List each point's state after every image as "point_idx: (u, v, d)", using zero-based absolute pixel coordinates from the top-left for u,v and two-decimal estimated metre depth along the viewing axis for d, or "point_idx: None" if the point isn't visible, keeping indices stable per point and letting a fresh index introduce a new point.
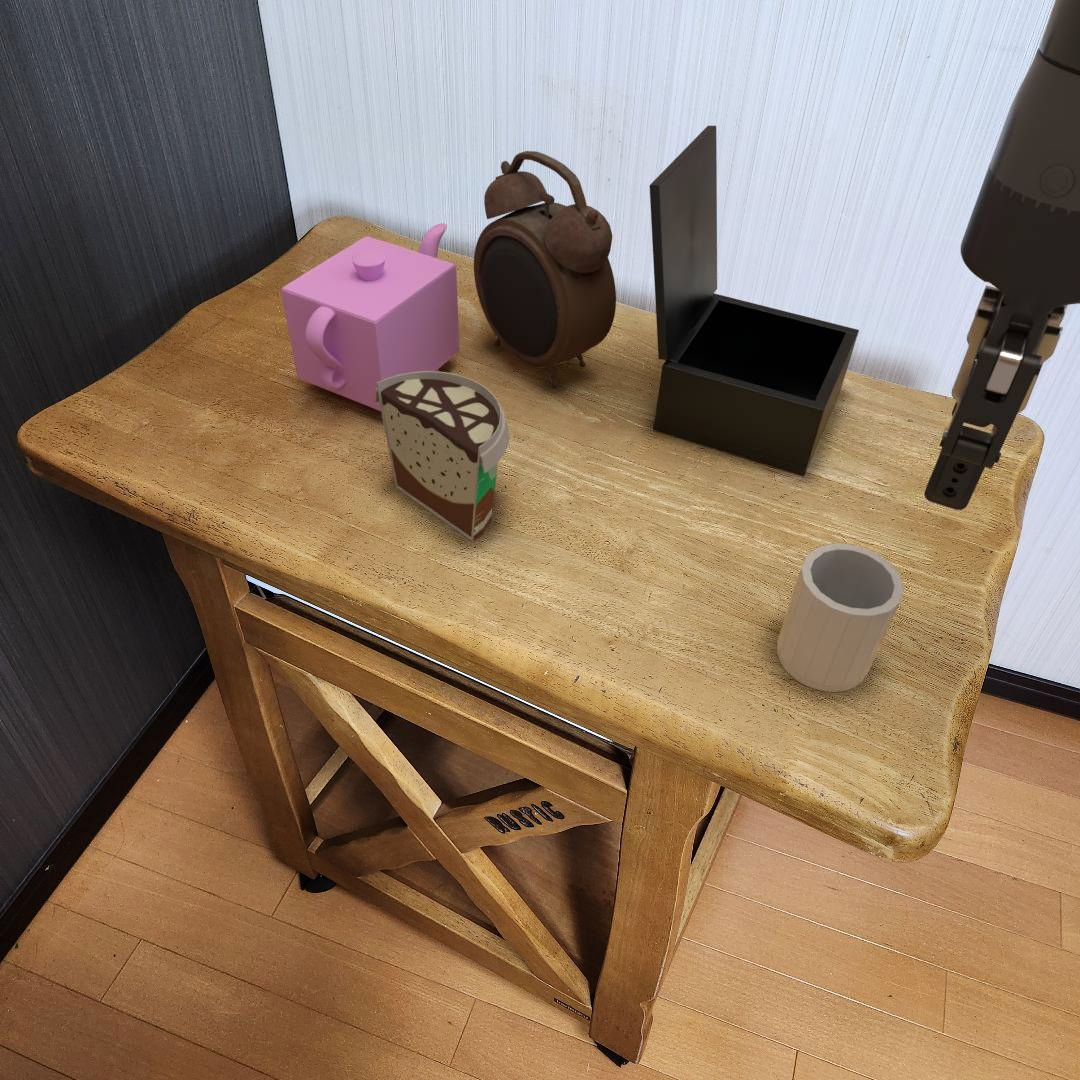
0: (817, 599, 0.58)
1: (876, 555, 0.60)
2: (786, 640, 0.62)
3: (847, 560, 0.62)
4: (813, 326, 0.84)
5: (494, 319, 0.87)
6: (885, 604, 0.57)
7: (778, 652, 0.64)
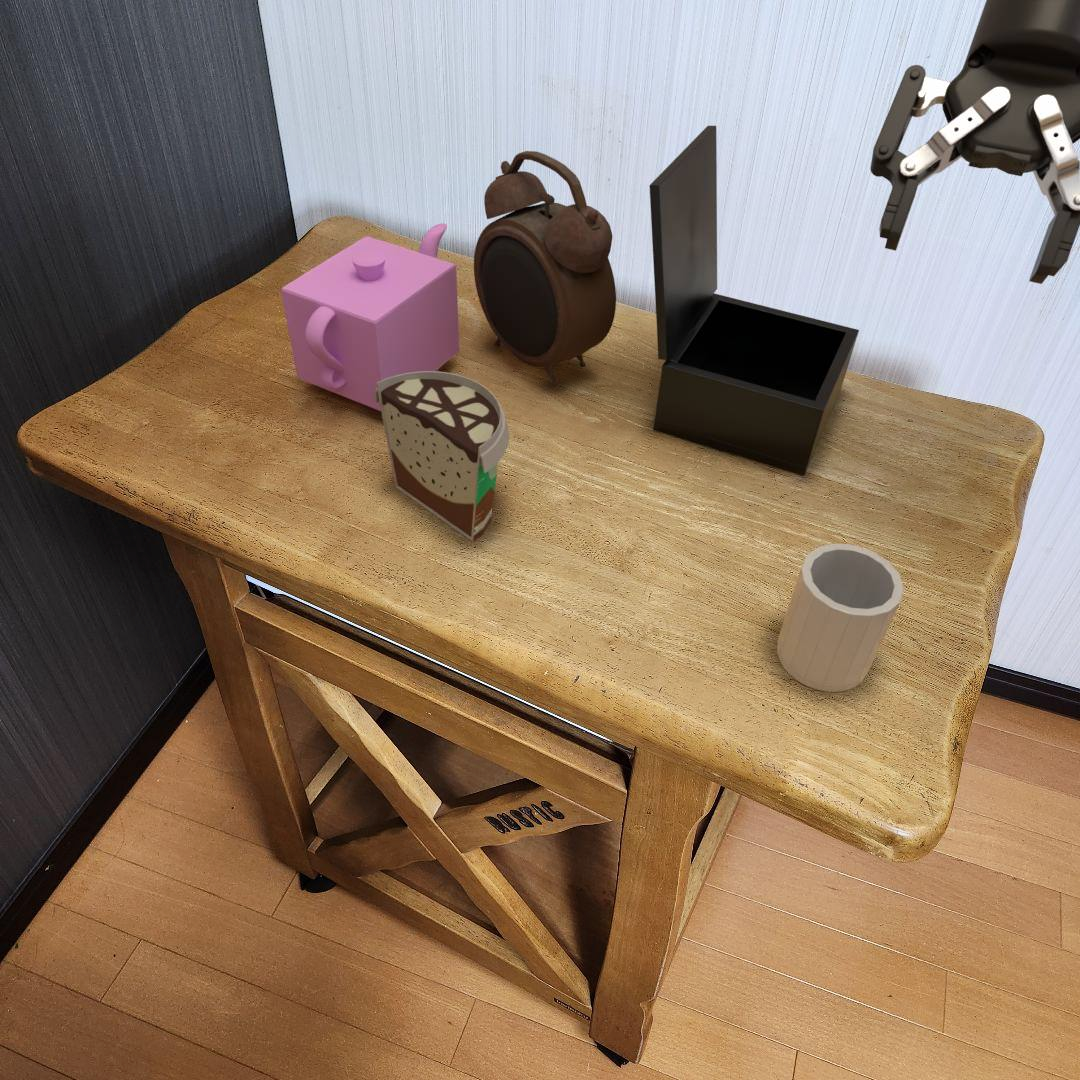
0: (817, 599, 0.58)
1: (876, 555, 0.60)
2: (786, 640, 0.62)
3: (847, 560, 0.62)
4: (813, 326, 0.84)
5: (494, 319, 0.87)
6: (885, 604, 0.57)
7: (778, 652, 0.64)
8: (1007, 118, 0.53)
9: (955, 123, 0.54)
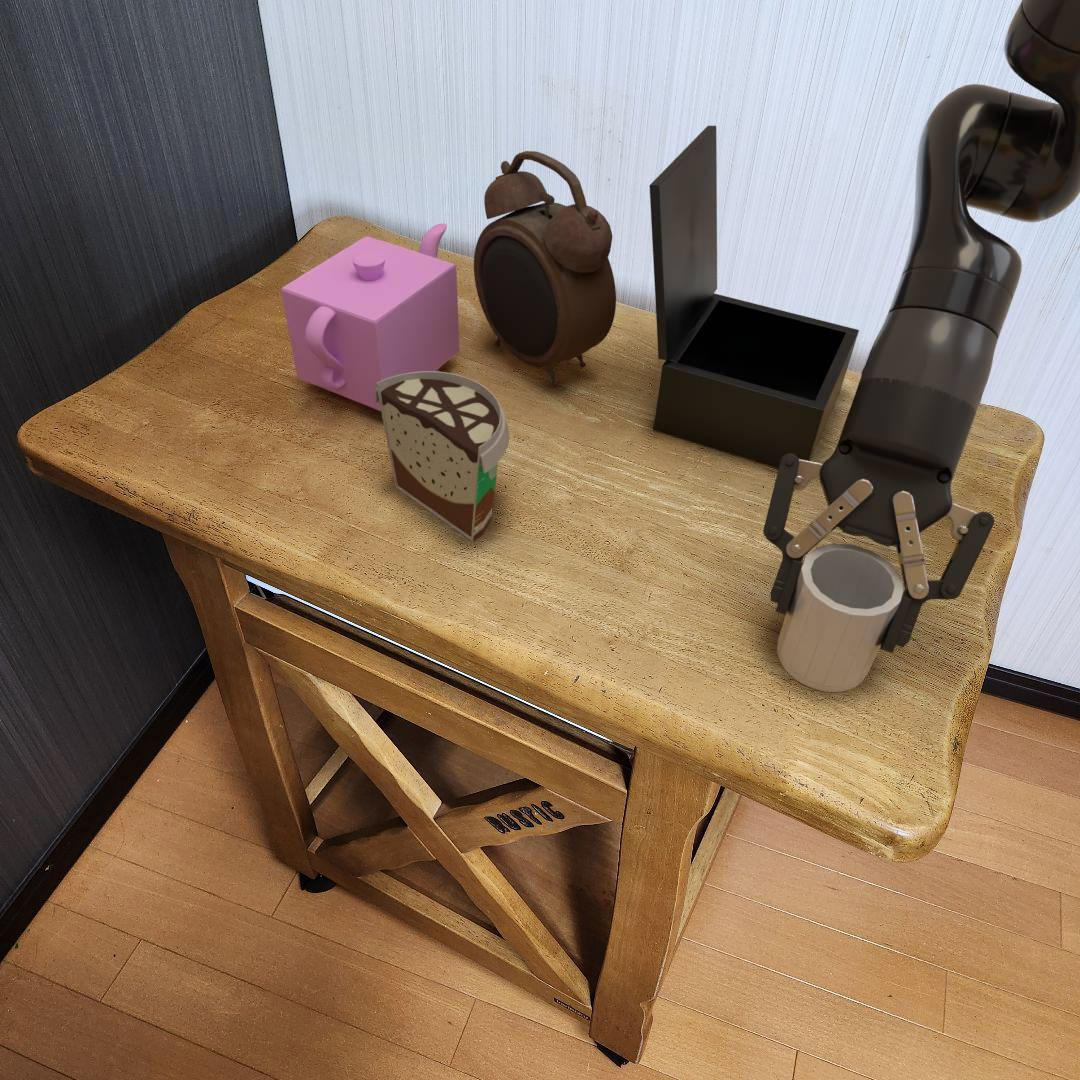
0: (817, 599, 0.58)
1: (876, 555, 0.60)
2: (786, 640, 0.62)
3: (847, 560, 0.62)
4: (813, 326, 0.84)
5: (494, 319, 0.87)
6: (885, 604, 0.57)
7: (778, 652, 0.64)
8: (872, 503, 0.59)
9: (828, 511, 0.59)
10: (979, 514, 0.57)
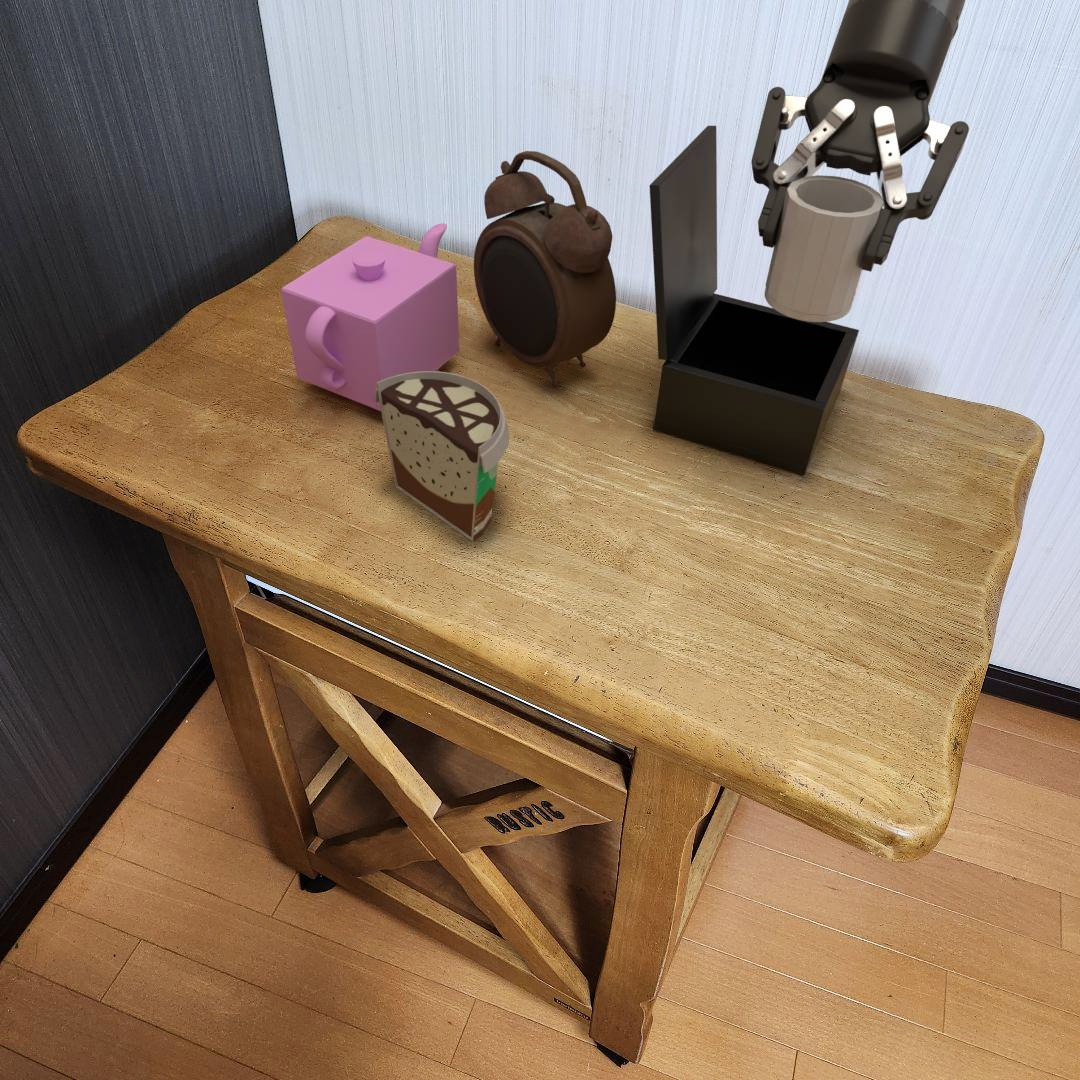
0: (801, 207, 0.61)
1: (858, 182, 0.64)
2: (773, 273, 0.66)
3: (830, 193, 0.65)
4: (813, 326, 0.84)
5: (494, 319, 0.87)
6: (866, 210, 0.61)
7: (766, 294, 0.68)
8: (854, 125, 0.62)
9: (813, 134, 0.63)
10: (954, 124, 0.61)
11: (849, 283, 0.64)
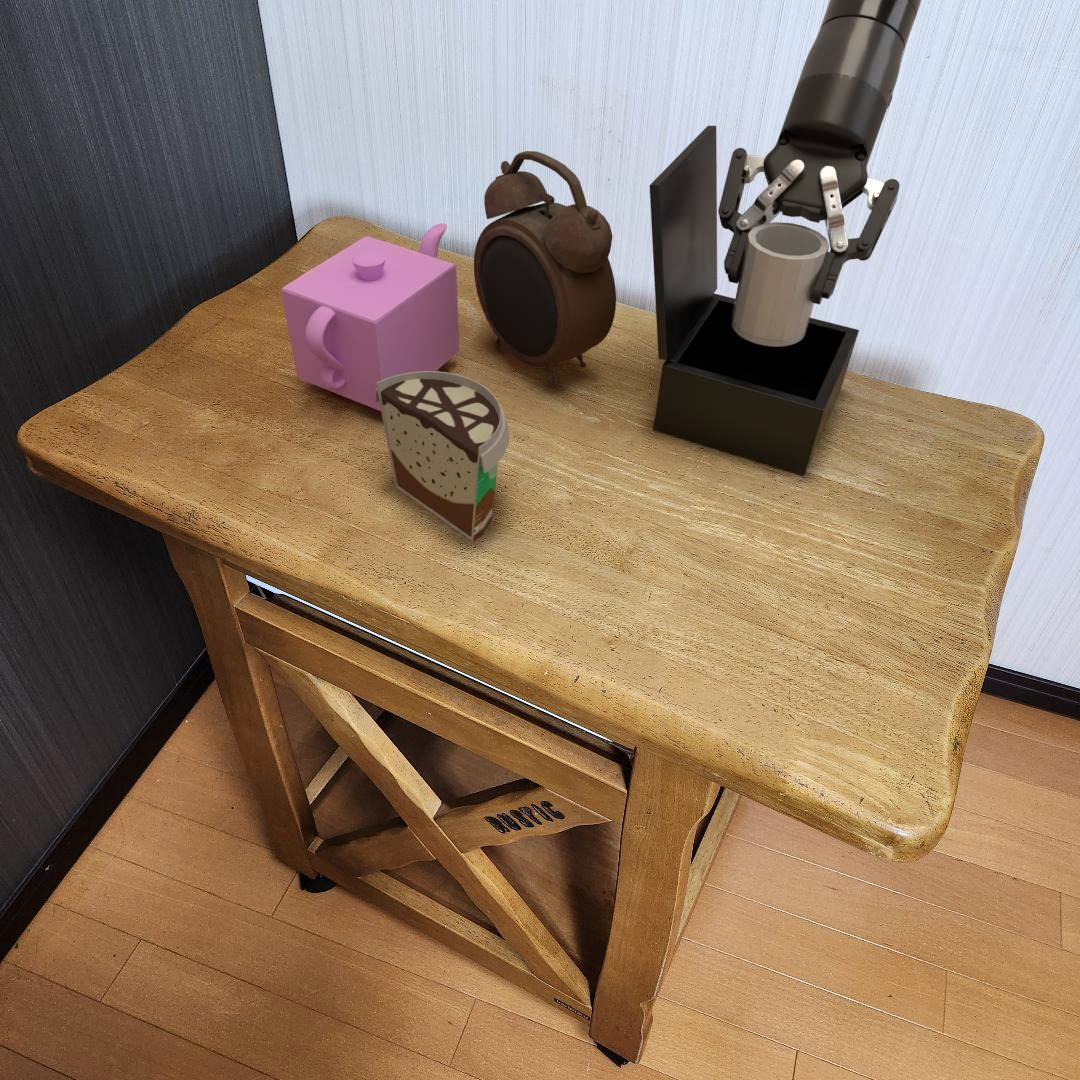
0: (759, 251, 0.72)
1: (808, 228, 0.75)
2: (738, 305, 0.77)
3: (786, 237, 0.76)
4: (813, 326, 0.84)
5: (494, 319, 0.87)
6: (813, 253, 0.72)
7: (732, 323, 0.79)
8: (804, 181, 0.74)
9: (769, 189, 0.74)
10: (888, 181, 0.72)
11: (801, 314, 0.75)
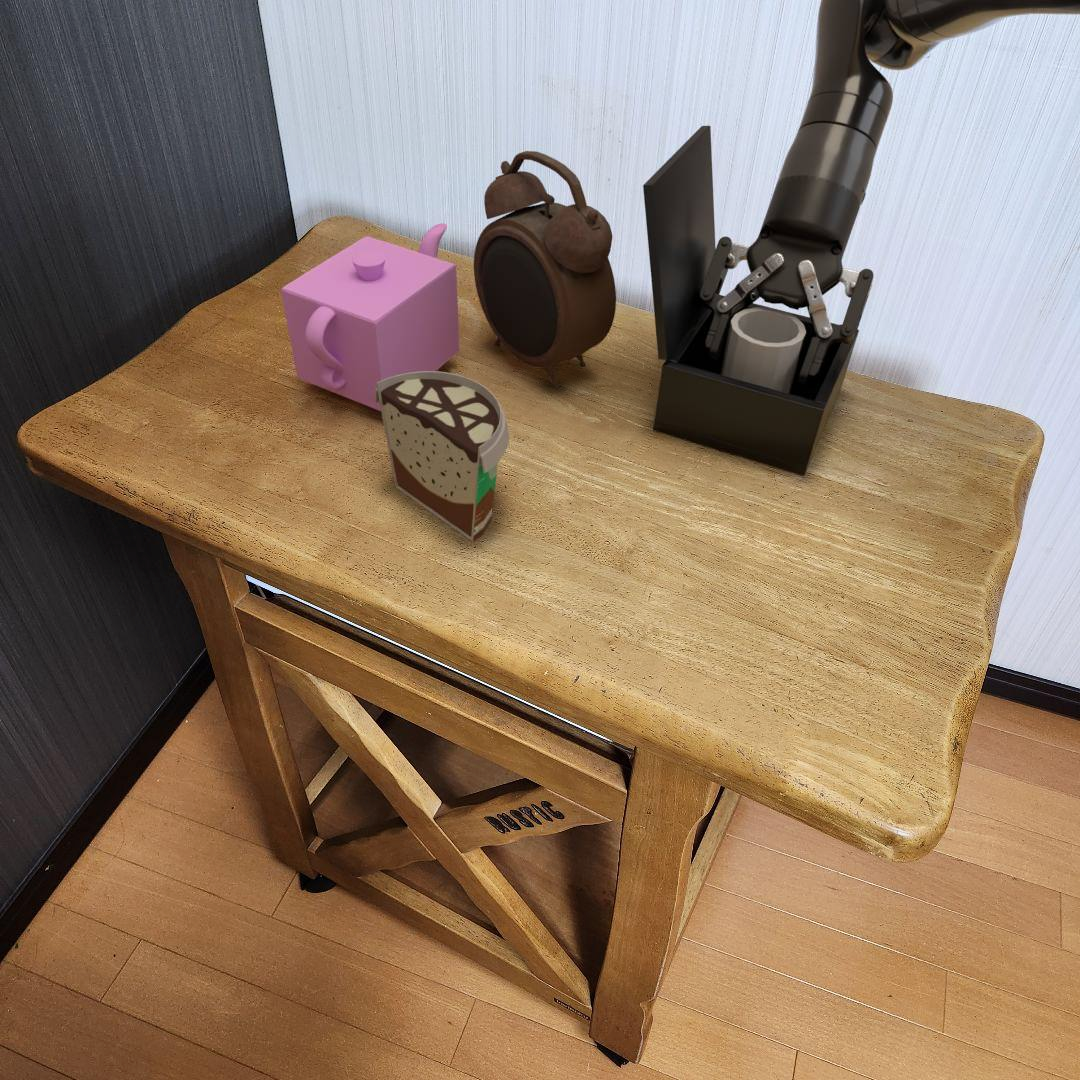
0: (741, 337, 0.78)
1: (787, 314, 0.81)
2: None
3: (767, 321, 0.82)
4: None
5: (494, 319, 0.87)
6: (791, 340, 0.78)
7: None
8: (784, 273, 0.79)
9: (750, 277, 0.80)
10: (862, 271, 0.77)
11: None
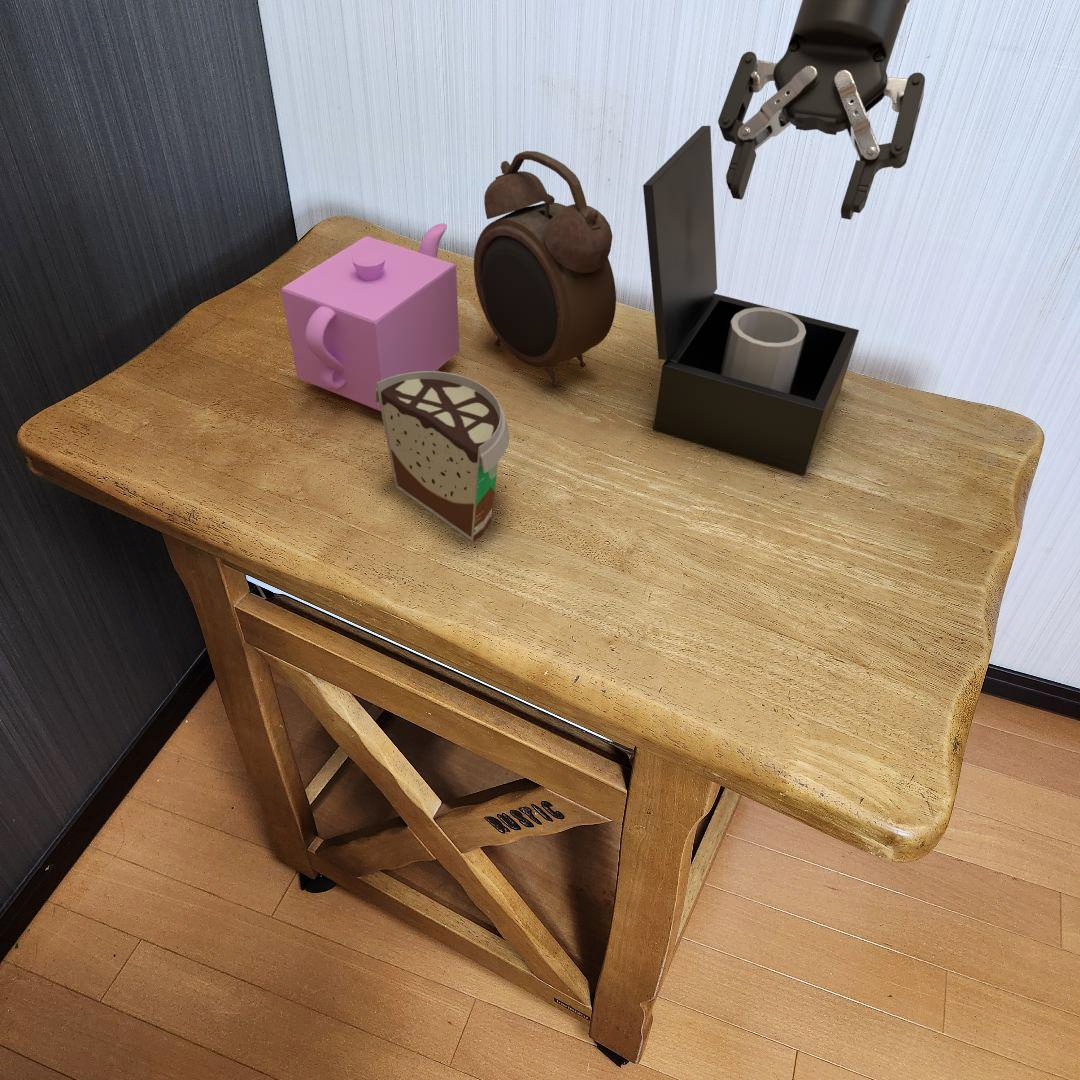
0: (741, 337, 0.78)
1: (787, 314, 0.81)
2: None
3: (767, 321, 0.82)
4: (813, 326, 0.84)
5: (494, 319, 0.87)
6: (791, 340, 0.78)
7: None
8: (818, 90, 0.68)
9: (777, 96, 0.68)
10: (911, 76, 0.66)
11: None
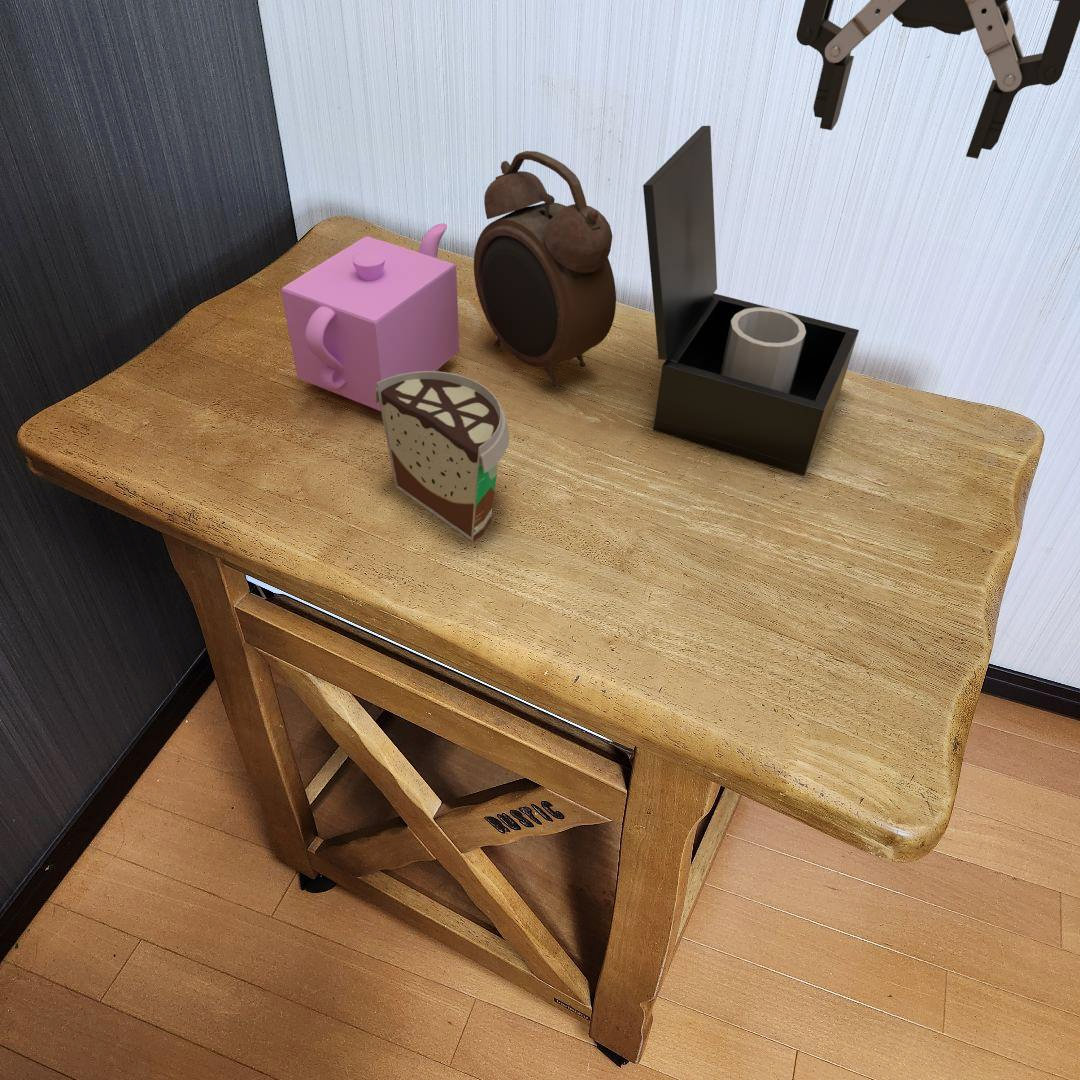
0: (741, 337, 0.78)
1: (787, 314, 0.81)
2: None
3: (767, 321, 0.82)
4: (813, 326, 0.84)
5: (494, 319, 0.87)
6: (791, 340, 0.78)
7: None
8: None
9: (876, 4, 0.49)
10: None
11: None
